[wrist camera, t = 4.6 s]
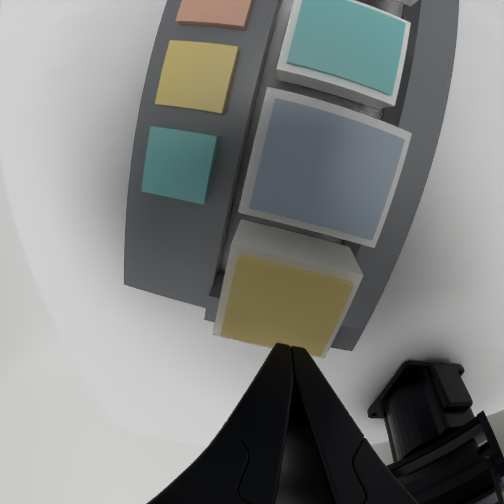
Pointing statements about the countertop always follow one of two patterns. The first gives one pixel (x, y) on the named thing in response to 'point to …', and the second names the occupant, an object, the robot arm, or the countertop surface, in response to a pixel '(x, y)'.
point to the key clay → (408, 2)
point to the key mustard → (285, 289)
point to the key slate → (323, 167)
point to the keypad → (234, 138)
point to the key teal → (345, 50)
